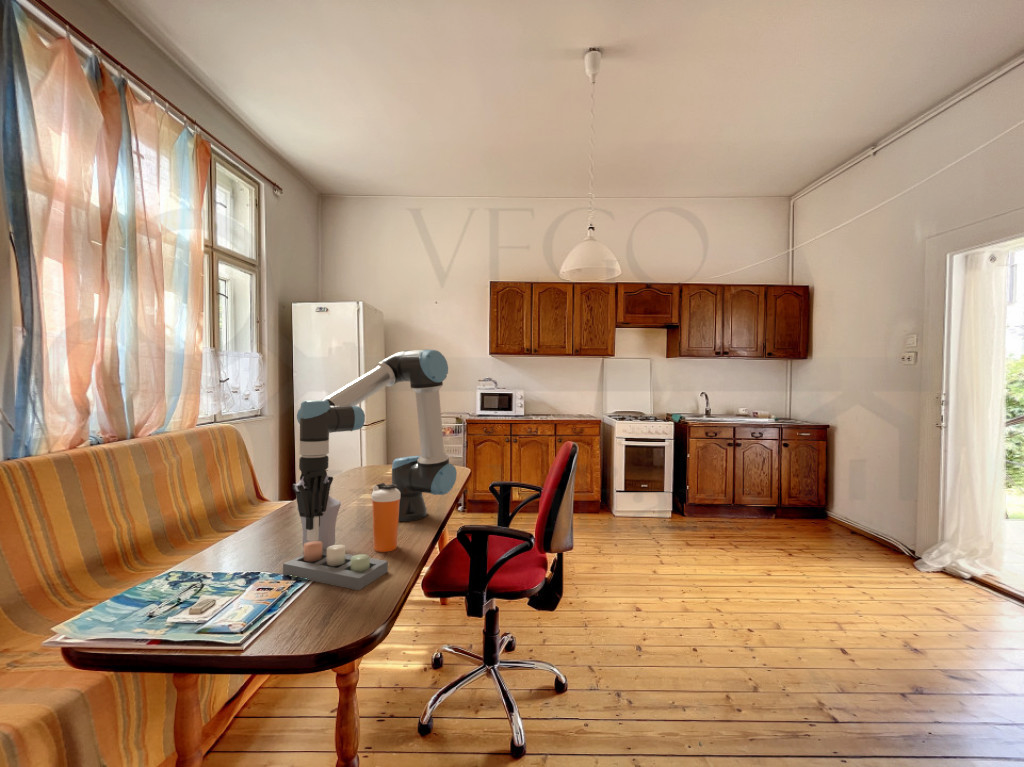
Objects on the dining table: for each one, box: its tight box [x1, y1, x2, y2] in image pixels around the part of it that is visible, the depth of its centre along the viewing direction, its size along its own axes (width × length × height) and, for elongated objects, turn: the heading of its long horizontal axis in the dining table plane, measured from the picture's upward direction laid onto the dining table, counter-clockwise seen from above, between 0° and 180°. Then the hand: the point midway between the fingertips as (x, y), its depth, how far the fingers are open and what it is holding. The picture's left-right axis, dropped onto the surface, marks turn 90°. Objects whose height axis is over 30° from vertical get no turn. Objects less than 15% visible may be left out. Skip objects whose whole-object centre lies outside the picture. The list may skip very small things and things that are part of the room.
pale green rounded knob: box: [351, 553, 371, 573], centre depth 122 cm, size 5×5×4 cm
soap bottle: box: [296, 469, 342, 550], centre depth 143 cm, size 13×13×25 cm
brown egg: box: [303, 541, 322, 562], centre depth 127 cm, size 5×5×4 cm
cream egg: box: [327, 544, 346, 566], centre depth 125 cm, size 5×5×4 cm
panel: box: [282, 550, 389, 591], centre depth 125 cm, size 12×25×3 cm, turn 70°
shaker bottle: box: [370, 482, 400, 553], centre depth 144 cm, size 9×9×20 cm
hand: (312, 539), depth 127 cm, fingers closed
